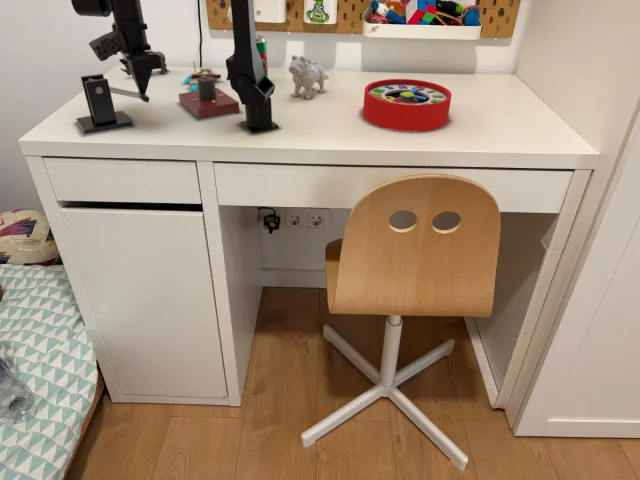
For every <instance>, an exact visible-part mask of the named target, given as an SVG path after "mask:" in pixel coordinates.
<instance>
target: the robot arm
mask: <svg viewBox="0 0 640 480" xmlns="http://www.w3.org/2000/svg"><path fill="white" fill-rule="evenodd" d="M70 3H71V6H72V8H73V10H74V12H75V13H76V14H77V15H78V16H81V17H98V18H108V17H110V16H111V14H112V17H113V22H112V24H111V30H112V31H109V32H107V33H104V34H102V35H101V36H99V37H97V38H95V39H92V40H91V41H90V42H89V43H88V45H89V47H90V48H91V50H92V52H93V53H94V55H95V57H96V58H97V59H98V60H99V61H100V62H104V61H107V60H109V58H111V57H113V56H117V55H118V53H120V54H121V58H120V59H118V61H119V63H120V64H122V65H123V66H124V67H125V66H126V67H127V68H128V69H129V70H130V72H131V77H132V78H133V81H134V83H135V85H136V88H137V90H138V91H139V92H140V94H147V90H148V86H149V83H150V80H151V76H152V73H153V70H161V68H163V61H162V58H161V57H160V56H159V55H157V54H156V53H155V52H156V51H153V50H152V45H151V44H149V42H148V39H147V37H148V36H147V33H146V31H147V30H148V29H149V28H148V24H147V23H146V22H145V21H144V15H143V10H142V9H143V8H142V4H141V0H70ZM254 5H255V4H254V0H230V11H231V20H232V21H231V23H232V34H233V46H234V47H233V48H234V50H233V54H231V55H230V56H229V57H227V58H226V59H225V66H226V70H227V71H226V72H227V77H226V81H227V82H228V81H229V84H230V87H231V90H233V91H234V92H235V93H236V94H237V96H238V99H239V101H240V103H241V105H243V106H244V111H245V121H240V125H241V126H242V127H243V128H245V129H246V130H247V131H249V132H250V133H251V134H258V133H262V132H267V131H271V130H277V129H279V125H278V124H277V123H275V122H273V108H272V107H273V106H272V98H271V96H272V95H274V93H275V89H276V84H275V83H274V81H272V80H271V79H270V78H269V76H268V77H267V76H266V75H265V73H264V68H263V63H262V59H261V57H260V54H259V52H258V50H257V47H256V36H255V35H256V23H255V21H256V20H255V19H256V18H255V6H254Z"/></svg>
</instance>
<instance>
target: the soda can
mask: <svg viewBox="0 0 640 480" xmlns="http://www.w3.org/2000/svg"><path fill="white" fill-rule="evenodd" d="M255 36H256V47H257V50H258V52H259V54H260V57H261V59H262V63H263V68H264V73H265V75H266V76H267V77H268V78H269V73H268V72H269V70H268V48H267V47H268V45H267V40H266V37H265V36H264V35H262V34H261V35H260V34H255Z"/></svg>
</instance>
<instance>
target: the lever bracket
mask: <svg viewBox="0 0 640 480" xmlns="http://www.w3.org/2000/svg"><path fill="white" fill-rule="evenodd" d="M89 78H90V79H95V80H91V81H88V80H89ZM80 80H81V81H80V82H81V85H82V88H83V93H84V96H85V99H86V104H87V108H88V111H89V115H87V116H81V117H76V119H75V120H76V122H77V124H78V127H79V128H80V129H81V130H82V132H83V134H84V135H88V134H95V133H99V132H105V131H110V130H117V129H122V128H126V127H132V126H133V121H132V120H131V118H130V117H129V116H128V115H127V114H126V113H125V112H124V110H118V111H116V110H115V106H114V102H113V97H112V93H111V92H110V88H109V87H110V83H109V80H108V78H105V76H104V74H103V73H97V74H89V75H83V76H82V75H81V76H80Z"/></svg>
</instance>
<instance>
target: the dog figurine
mask: <svg viewBox="0 0 640 480" xmlns="http://www.w3.org/2000/svg"><path fill="white" fill-rule="evenodd" d="M288 72H289V73H290V74H291V75H292V81H293V84H294V92H293V97H299V95H300V92H301V88H304V90H305V91H306V93H305V95H306V96H305V99H307V100H310V99H312V91H313V86H314V84H317V83H318V85H319V92H320V93H324V87H325V85H324V84H325V70H324V68H323V66H322V65H320V64H319V62H318V61H317V60H314V61H311V58H310V57H305V56H304V55H300V56H297V55H295V54H293V55H291V62H290V66H289V67H288Z"/></svg>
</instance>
